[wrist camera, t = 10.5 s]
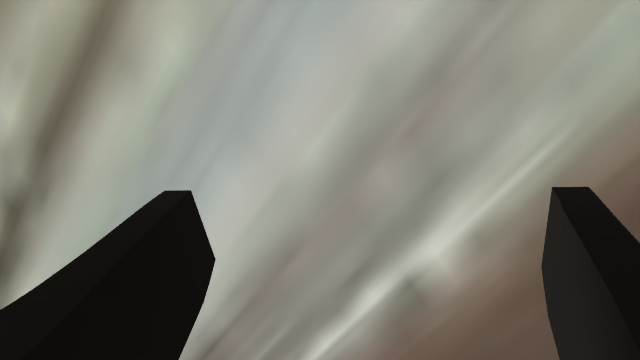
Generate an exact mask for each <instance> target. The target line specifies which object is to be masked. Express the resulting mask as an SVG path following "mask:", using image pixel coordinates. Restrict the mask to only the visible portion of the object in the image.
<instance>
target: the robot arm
mask: <svg viewBox="0 0 640 360" xmlns="http://www.w3.org/2000/svg"><path fill="white" fill-rule="evenodd" d="M214 263H215V257H214V254H213V251H212V248H211V246H210V243H209V240H208V237H207V234H206V232H205V229H204V226H203V223H202V220H201V218H200V215H199V212H198V209H197V206H196V203H195V201H194V198H193V195H192V192H191V191H164V192H162V193H161V194H159V195H158V196H157V197H155V198H154V199H152V200H151V201H150V202H148V203H147V204H146V205H144V206H143V207H142V208H140V209H139V210H138V211H137V212H135V213H134V214H133V215H131V216H130V217H129V218H128V219H126V220H125V221H124V222H123V223H121V224H120V225H119V226H117V227H116V228H115V229H114V230H112V231H111V232H110V233H108V234H107V235H106V236H105V237H103V238H102V239H101V240H99V241H98V242H97V243H96V244H94V245H93V246H92V247H90V248H89V249H88V250H87V251H85V252H84V253H83V254H81V255H80V256H79V257H77V258H76V259H74V260H73V261H72V262H70V263H69V264H68V265H66V266H65V267H63V268H62V269H61V270H59V271H58V272H56V273H55V274H54V275H52V276H51V277H50V278H48V279H47V280H45V281H44V282H43V283H41V284H40V285H38V286H37V287H35V288H34V289H32V290H31V291H30V292H28V293H26V294H25V295H23V296H22V297H20V298H19V299H17V300H16V301H14V302H13V303H11V304H9V305H8V306H6V307H5V308H3V309H1V310H0V360H179V357H180V355H181V353H182V351H183V348H184V346H185V344H186V342H187V339H188V337H189V335H190V333H191V330H192V328H193V326H194V323H195V321H196V319H197V316H198V314H199V312H200V309H201V307H202V304H203V302H204V299H205V296H206V292H207V289H208V286H209V282H210V279H211V275H212V271H213V267H214ZM541 267H542V275H543V283H544V290H545V297H546V304H547V311H548V317H549V321H550V325H551V329H552V332H553V336H554V340H555V344H556V347H557V351H558V355H559V359H560V360H640V243H639V242H638V241H637V240H636V239H635V238H634V236H633V235H632V234H631V233H630V232H629V231H628V230H627V229H626V228H625V227H624V226H623V224H622V223H621V222H620V221H619V220H618V219H617V218H616V217H615V216H614V214H613V213H612V212H611V211H610V210H609V209H608V208H607V207H606V205H605V204H604V203H603V202H602V201H601V200H600V199H599V198H598V196H597V195H596V194H595V193H594V192H593V191H592V190H591V189H590V188H589V187H552V192H551V199H550V207H549V214H548V222H547V229H546V237H545V244H544V251H543V259H542V266H541Z"/></svg>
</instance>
